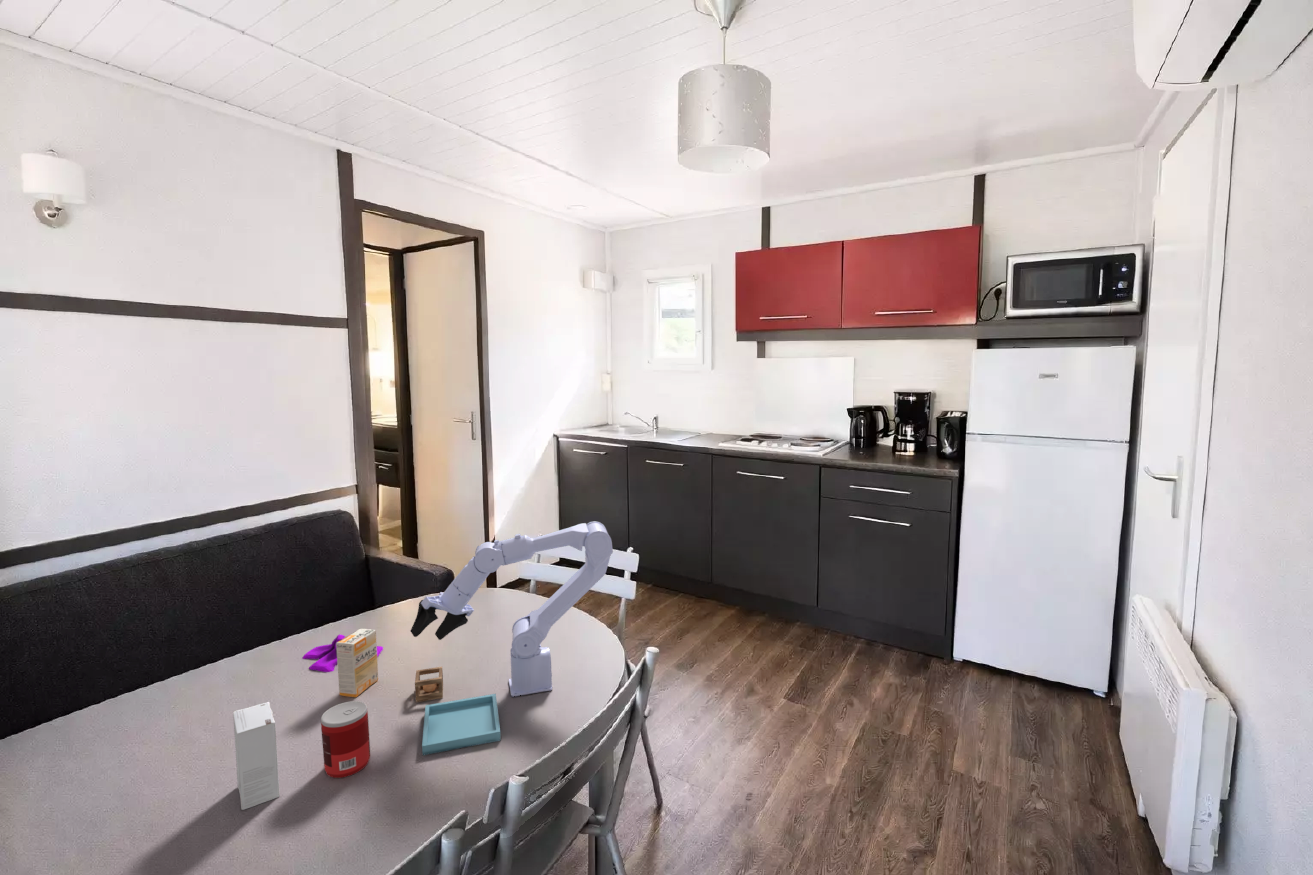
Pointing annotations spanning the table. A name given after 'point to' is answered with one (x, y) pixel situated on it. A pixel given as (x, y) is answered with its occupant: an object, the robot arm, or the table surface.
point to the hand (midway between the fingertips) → (425, 635)
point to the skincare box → (256, 755)
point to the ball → (429, 688)
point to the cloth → (327, 656)
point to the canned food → (345, 739)
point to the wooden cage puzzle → (438, 692)
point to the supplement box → (357, 662)
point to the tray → (460, 724)
